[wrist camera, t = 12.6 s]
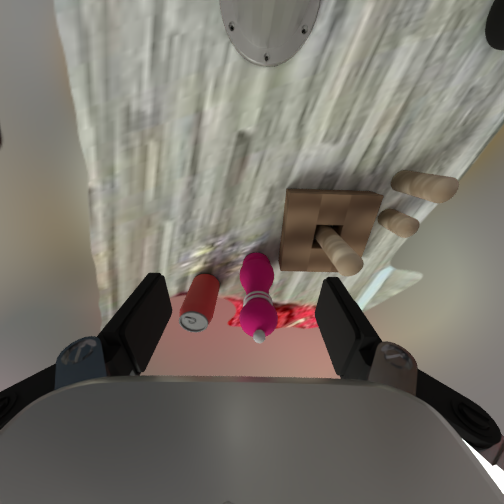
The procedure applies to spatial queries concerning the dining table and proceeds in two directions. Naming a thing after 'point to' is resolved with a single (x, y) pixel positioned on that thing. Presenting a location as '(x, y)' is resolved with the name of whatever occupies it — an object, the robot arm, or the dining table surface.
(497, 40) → the cola bottle
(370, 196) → the hole block
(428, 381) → the robot arm
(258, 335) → the pepper mill
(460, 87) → the dining table surface
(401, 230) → the short pin
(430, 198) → the medium pin
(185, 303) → the beer can
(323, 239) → the long pin
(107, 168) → the dining table surface
